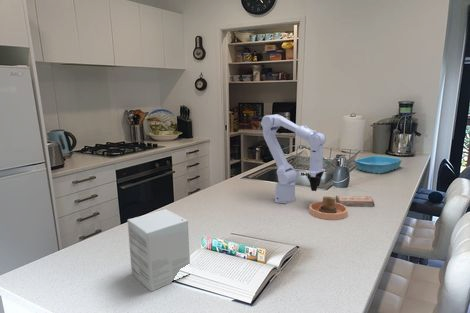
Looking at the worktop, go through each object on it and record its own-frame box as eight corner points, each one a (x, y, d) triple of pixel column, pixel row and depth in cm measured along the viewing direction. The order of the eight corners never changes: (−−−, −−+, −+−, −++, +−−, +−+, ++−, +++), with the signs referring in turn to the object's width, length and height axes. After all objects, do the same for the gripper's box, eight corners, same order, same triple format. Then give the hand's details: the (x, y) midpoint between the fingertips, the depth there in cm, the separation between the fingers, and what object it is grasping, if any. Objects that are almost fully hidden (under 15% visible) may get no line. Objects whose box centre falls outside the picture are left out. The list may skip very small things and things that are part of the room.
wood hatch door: (322, 212, 141) (322, 197, 140) (322, 211, 143) (323, 196, 142) (333, 214, 139) (334, 199, 138) (334, 212, 142) (335, 197, 140)
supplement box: (169, 258, 106) (166, 208, 103) (191, 274, 97) (189, 219, 93) (130, 273, 98) (126, 219, 94) (150, 292, 88) (146, 233, 85)
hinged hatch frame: (318, 213, 141) (318, 209, 140) (320, 209, 145) (320, 205, 145) (335, 215, 138) (336, 211, 138) (337, 212, 142) (337, 207, 142)
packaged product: (370, 194, 155) (376, 201, 146) (370, 203, 156) (375, 211, 146) (332, 193, 158) (335, 199, 148) (331, 202, 159) (335, 209, 149)
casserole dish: (375, 162, 243) (376, 153, 241) (406, 168, 226) (407, 158, 224) (348, 170, 220) (349, 160, 219) (380, 177, 203) (381, 166, 202)
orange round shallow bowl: (306, 218, 138) (306, 211, 137) (312, 206, 152) (313, 199, 151) (345, 224, 131) (345, 216, 131) (348, 211, 146) (348, 203, 145)
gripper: (323, 163, 138) (321, 193, 141) (327, 157, 151) (326, 185, 154) (306, 162, 141) (305, 192, 144) (312, 156, 154) (311, 183, 157)
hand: (315, 188), depth 149 cm, fingers open, 7 cm apart
